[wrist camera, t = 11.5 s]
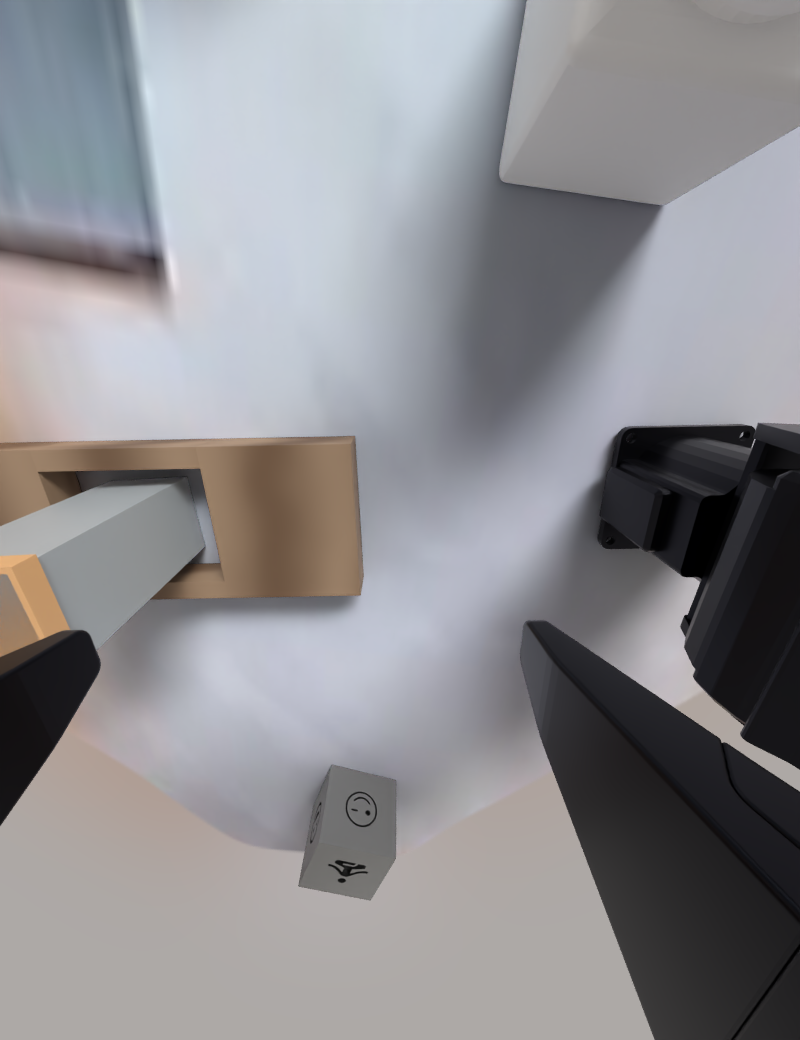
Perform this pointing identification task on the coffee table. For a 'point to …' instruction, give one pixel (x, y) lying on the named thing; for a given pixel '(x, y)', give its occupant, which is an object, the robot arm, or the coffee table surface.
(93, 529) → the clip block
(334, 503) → the wooden socket base
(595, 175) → the medicine bottle
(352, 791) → the grey marked cube
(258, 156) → the coffee table surface
